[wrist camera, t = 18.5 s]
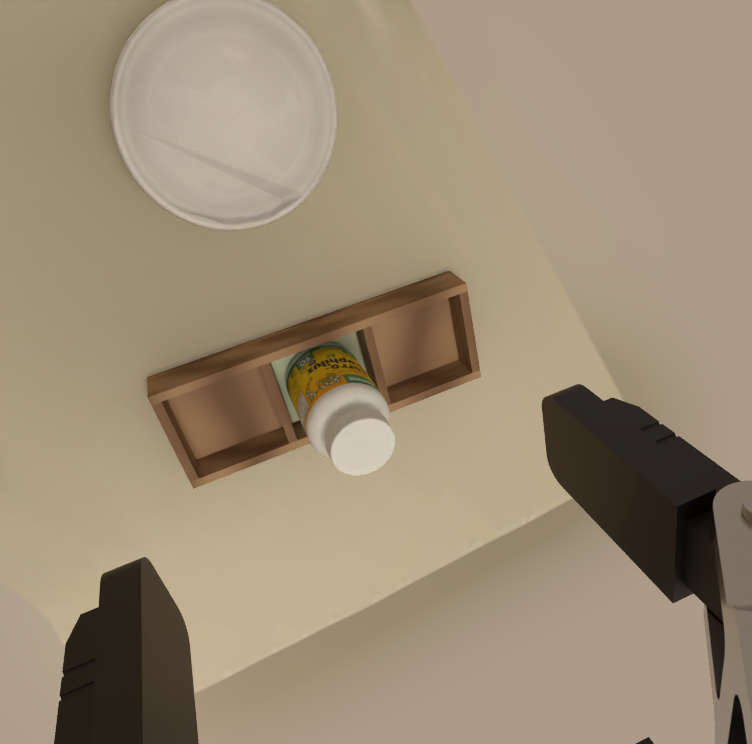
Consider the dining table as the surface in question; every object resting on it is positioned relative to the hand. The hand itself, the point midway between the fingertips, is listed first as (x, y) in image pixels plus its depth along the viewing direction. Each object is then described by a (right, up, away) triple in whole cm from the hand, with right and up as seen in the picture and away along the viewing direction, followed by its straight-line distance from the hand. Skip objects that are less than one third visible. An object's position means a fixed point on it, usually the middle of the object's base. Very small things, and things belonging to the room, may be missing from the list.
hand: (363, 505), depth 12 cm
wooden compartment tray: (-4, +3, +33) cm, 33 cm away
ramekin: (-9, +17, +24) cm, 31 cm away
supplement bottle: (-4, +2, +33) cm, 33 cm away
